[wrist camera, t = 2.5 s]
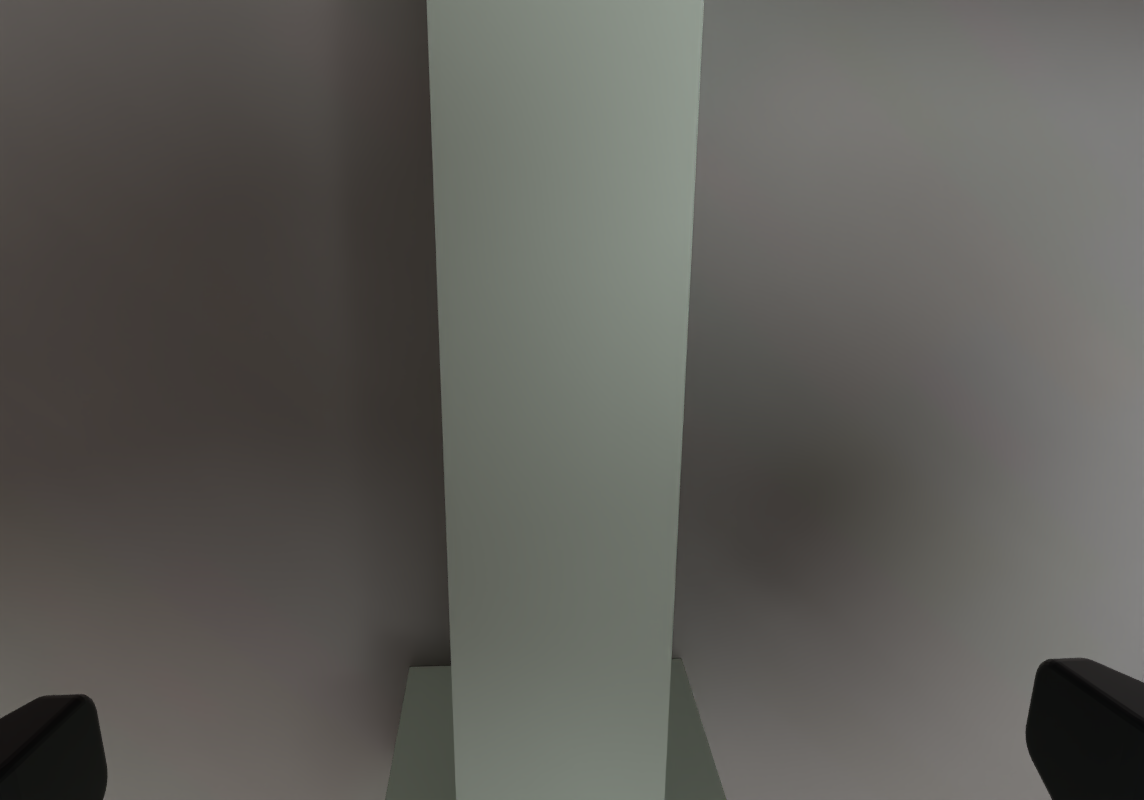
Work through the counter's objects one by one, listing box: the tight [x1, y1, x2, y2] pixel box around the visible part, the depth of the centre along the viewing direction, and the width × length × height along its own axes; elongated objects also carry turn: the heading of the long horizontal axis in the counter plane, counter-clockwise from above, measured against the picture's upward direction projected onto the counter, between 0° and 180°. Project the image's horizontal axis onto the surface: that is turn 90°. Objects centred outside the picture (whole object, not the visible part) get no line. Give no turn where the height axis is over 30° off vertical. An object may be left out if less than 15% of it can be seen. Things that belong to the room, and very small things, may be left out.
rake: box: [385, 0, 726, 800], centre depth 11 cm, size 23×12×5 cm, turn 179°
